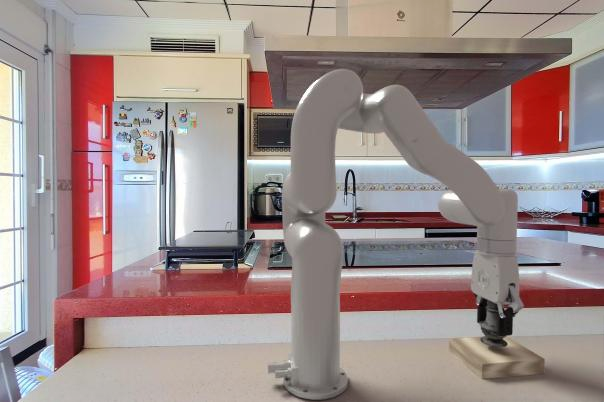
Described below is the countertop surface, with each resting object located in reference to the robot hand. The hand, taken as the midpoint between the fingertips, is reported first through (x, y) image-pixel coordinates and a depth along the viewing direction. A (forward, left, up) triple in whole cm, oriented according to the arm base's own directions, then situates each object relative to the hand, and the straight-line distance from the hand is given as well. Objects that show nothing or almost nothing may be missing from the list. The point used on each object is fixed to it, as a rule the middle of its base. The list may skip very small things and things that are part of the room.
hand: (494, 328), depth 80 cm
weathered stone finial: (0, 0, -3) cm, 3 cm away
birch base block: (0, 0, -8) cm, 8 cm away
